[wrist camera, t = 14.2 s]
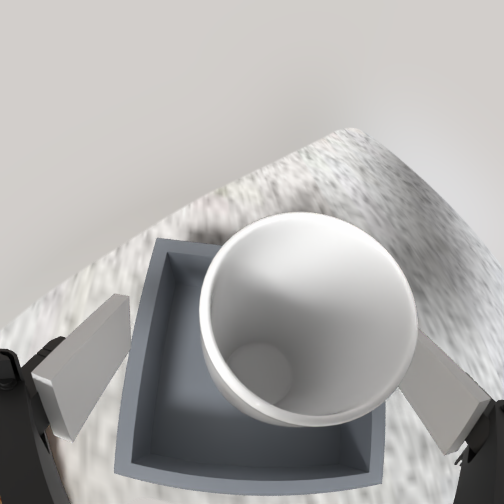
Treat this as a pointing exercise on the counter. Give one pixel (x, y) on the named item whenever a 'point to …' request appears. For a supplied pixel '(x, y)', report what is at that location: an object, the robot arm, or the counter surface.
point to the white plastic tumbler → (306, 321)
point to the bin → (219, 407)
